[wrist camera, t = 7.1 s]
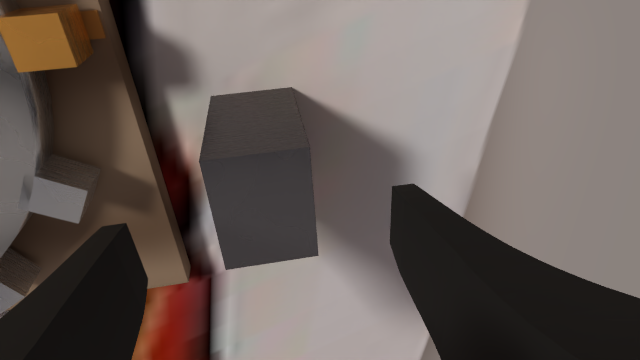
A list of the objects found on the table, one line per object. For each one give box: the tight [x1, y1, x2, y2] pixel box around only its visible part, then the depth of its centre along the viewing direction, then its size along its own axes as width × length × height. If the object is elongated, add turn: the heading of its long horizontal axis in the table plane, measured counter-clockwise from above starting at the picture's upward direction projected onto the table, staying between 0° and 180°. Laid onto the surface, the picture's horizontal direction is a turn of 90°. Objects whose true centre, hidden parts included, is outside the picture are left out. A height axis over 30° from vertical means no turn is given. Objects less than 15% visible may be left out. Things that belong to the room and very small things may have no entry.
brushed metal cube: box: [199, 87, 318, 270], centre depth 14 cm, size 4×3×5 cm
